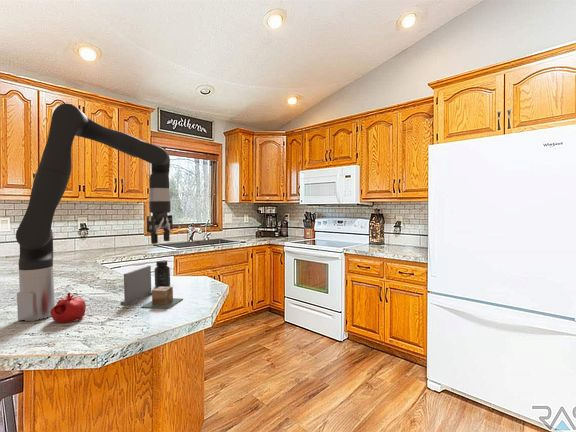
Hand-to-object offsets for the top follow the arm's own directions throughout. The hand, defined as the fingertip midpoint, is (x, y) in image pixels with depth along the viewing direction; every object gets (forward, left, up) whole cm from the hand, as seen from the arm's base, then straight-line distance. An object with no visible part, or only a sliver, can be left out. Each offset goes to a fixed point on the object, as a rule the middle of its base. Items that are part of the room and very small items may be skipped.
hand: (160, 242), depth 119 cm
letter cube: (0, 0, -24) cm, 24 cm away
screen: (+5, +13, -24) cm, 28 cm away
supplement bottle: (+24, +14, -24) cm, 37 cm away
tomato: (-19, +23, -24) cm, 38 cm away
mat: (0, 0, -24) cm, 24 cm away
